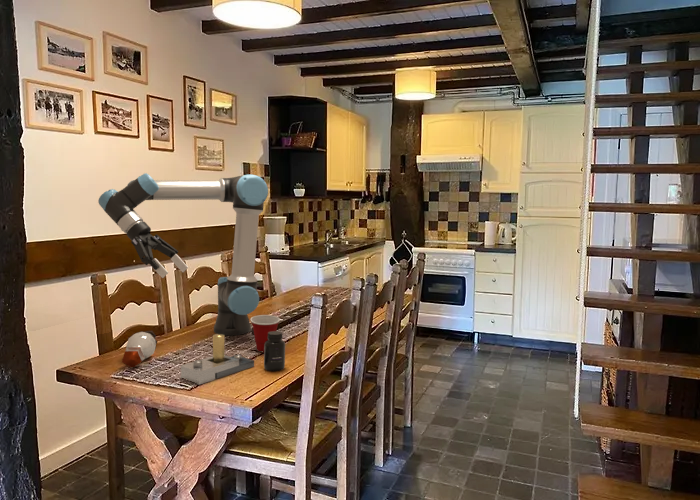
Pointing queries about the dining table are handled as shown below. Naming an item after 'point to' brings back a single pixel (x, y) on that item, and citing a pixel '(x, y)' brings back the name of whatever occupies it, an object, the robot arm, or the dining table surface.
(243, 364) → the lower chain end
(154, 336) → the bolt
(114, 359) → the dining table surface
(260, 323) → the plastic cup
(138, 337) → the potion bottle
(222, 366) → the grey socket block
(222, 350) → the brass pin
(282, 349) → the supplement bottle
